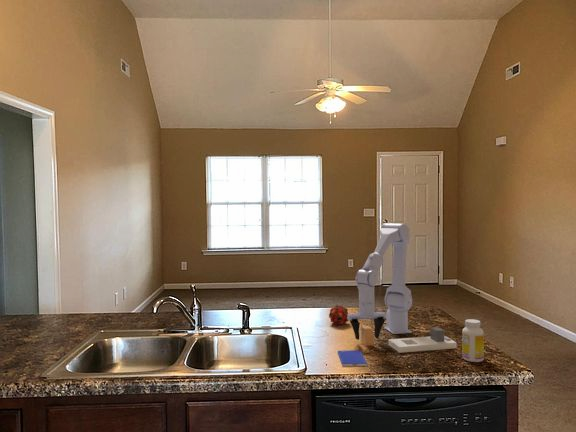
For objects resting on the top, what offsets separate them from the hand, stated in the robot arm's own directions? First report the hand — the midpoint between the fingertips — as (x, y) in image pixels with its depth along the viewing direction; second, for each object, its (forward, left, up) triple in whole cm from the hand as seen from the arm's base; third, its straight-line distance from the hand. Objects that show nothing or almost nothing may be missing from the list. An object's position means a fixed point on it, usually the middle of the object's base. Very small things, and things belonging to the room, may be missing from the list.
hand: (367, 338), depth 169 cm
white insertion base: (+8, +18, -2) cm, 20 cm away
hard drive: (+15, -11, -3) cm, 19 cm away
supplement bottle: (+24, +28, -2) cm, 37 cm away
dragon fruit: (-28, -2, -2) cm, 28 cm away
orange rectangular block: (0, 0, -2) cm, 2 cm away
